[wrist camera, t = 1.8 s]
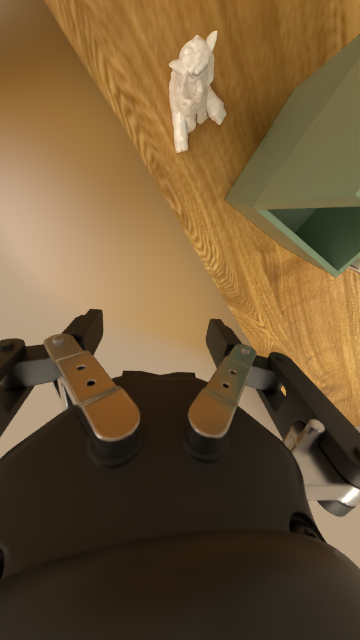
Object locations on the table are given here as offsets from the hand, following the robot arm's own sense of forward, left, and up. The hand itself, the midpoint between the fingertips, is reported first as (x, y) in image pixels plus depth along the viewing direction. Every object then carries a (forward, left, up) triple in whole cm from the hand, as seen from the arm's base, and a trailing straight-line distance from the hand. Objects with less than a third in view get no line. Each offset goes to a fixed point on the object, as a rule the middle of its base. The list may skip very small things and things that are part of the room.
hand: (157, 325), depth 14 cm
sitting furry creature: (-18, -7, -34) cm, 39 cm away
